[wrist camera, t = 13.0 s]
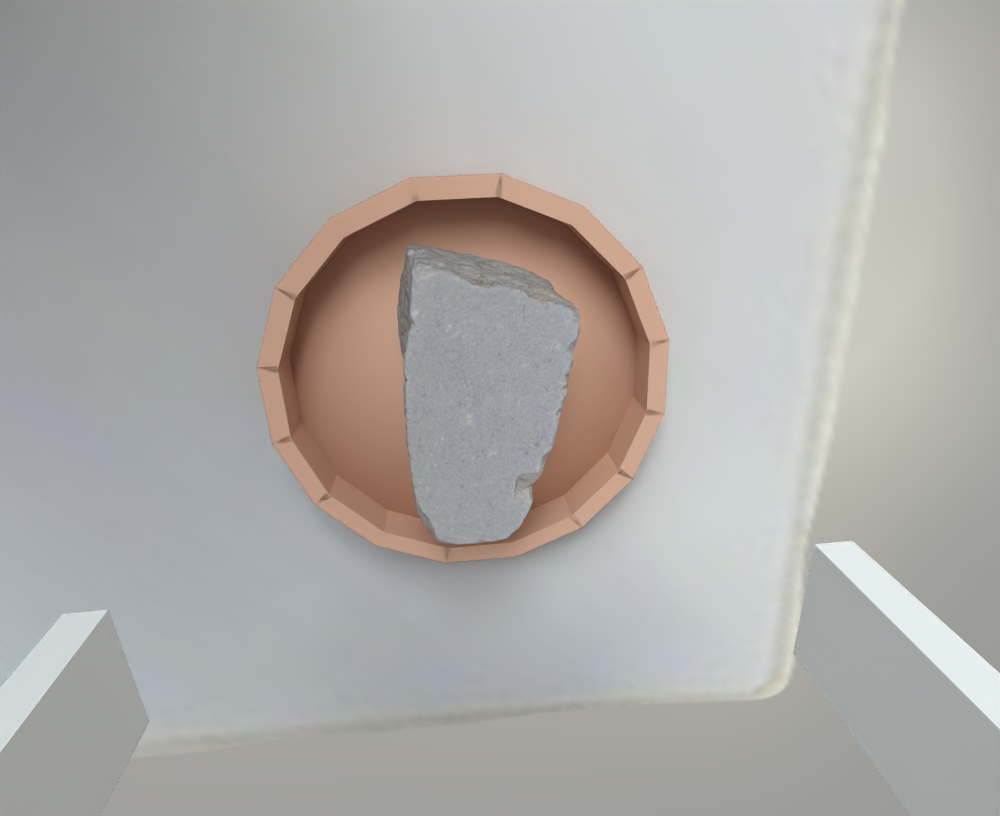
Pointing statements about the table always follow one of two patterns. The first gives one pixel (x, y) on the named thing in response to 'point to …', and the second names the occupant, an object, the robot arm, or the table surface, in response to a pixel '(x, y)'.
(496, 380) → the decorative stone
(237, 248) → the table surface
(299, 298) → the saucer
